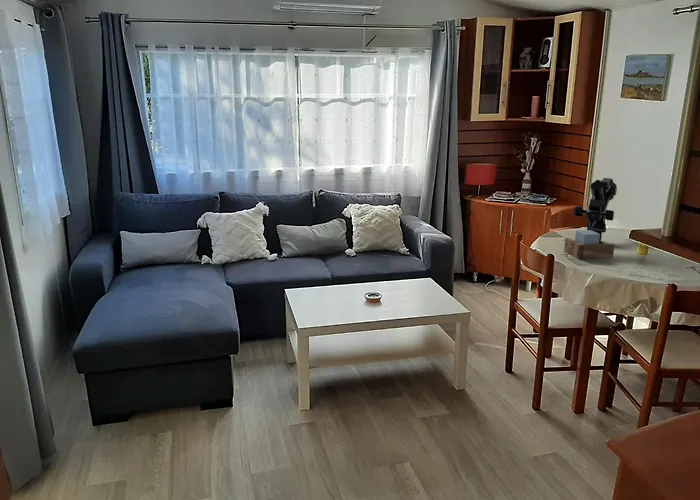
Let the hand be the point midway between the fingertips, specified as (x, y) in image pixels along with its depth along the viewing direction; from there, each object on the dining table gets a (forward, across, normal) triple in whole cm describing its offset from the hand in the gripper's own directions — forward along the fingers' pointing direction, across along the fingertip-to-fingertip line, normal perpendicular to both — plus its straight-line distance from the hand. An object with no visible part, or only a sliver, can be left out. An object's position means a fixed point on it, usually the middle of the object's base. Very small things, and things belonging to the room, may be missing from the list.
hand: (590, 227), depth 284 cm
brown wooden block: (+14, +1, +3) cm, 15 cm away
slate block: (+16, 0, +2) cm, 16 cm away
